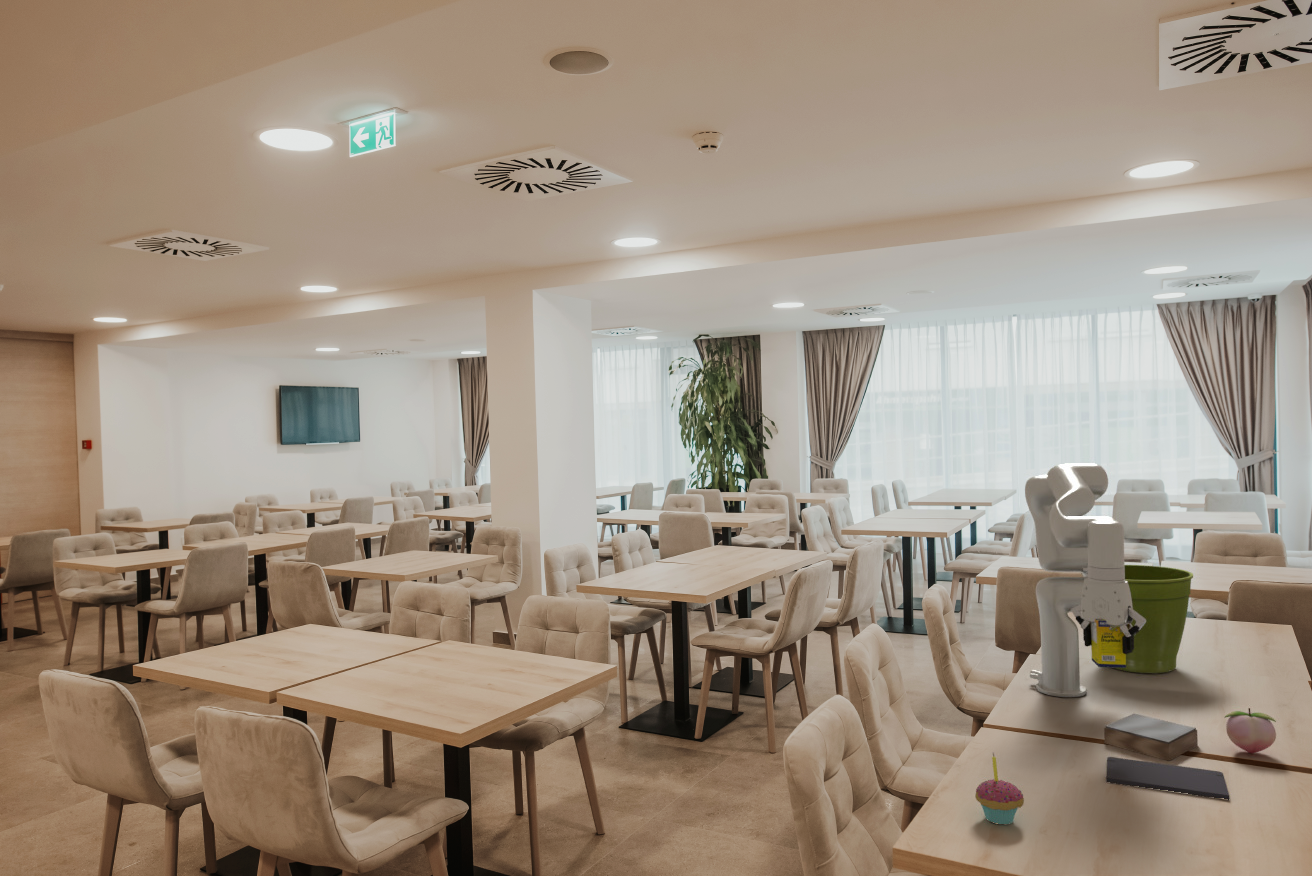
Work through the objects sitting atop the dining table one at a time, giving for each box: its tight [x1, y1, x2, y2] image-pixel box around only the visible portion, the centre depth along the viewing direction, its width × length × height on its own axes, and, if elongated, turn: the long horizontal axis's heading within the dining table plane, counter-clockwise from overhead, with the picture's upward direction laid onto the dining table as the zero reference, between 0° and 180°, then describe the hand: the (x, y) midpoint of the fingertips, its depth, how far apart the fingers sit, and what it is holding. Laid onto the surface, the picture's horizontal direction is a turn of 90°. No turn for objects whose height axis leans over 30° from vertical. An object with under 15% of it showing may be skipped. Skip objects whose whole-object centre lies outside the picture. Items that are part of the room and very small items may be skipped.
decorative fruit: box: [1224, 707, 1277, 754], centre depth 190 cm, size 9×8×10 cm
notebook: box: [1105, 756, 1230, 801], centre depth 177 cm, size 13×2×21 cm
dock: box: [1103, 713, 1199, 762], centre depth 197 cm, size 14×14×4 cm
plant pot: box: [1080, 564, 1194, 674], centre depth 259 cm, size 30×30×29 cm
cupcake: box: [974, 752, 1025, 825], centre depth 162 cm, size 9×8×12 cm
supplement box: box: [1090, 619, 1126, 669], centre depth 198 cm, size 6×6×11 cm
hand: (1108, 648), depth 198 cm, fingers closed on supplement box, 8 cm apart
